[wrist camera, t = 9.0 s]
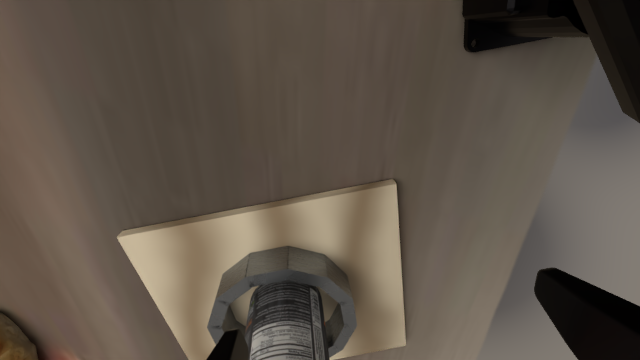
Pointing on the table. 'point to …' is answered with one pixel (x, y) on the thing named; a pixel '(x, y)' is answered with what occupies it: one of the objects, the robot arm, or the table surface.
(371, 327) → the ring holder
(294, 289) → the pill bottle
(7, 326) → the pastry
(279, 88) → the table surface
